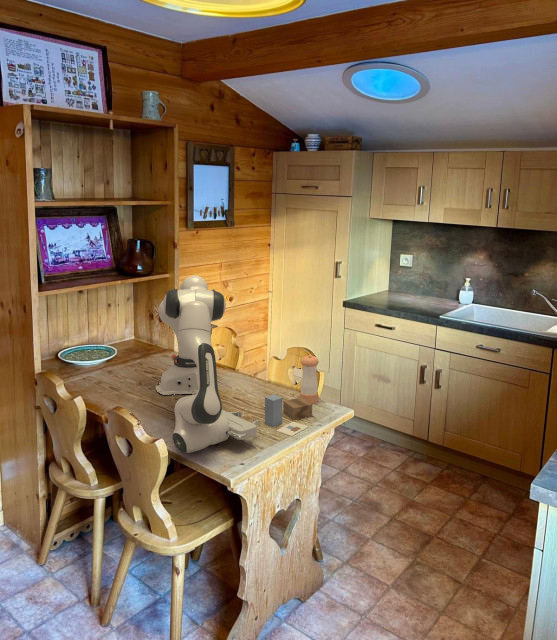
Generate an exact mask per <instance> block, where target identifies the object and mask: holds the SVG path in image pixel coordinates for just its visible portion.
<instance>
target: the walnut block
mask: <svg viewBox="0 0 557 640" xmlns="http://www.w3.org/2000/svg"><path fill="white" fill-rule="evenodd" d="M282 414H284V415H286V416H287V417H288V418H289V419H291V420H292V421H296V420H302V419H306V418H305V417H307V418H310V417H309V416H313V404H311V403H309V402H308V401H306V400H305V399H303V398H300V397H297V398H290V399H286V400H282ZM301 418H302V419H301Z"/></svg>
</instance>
